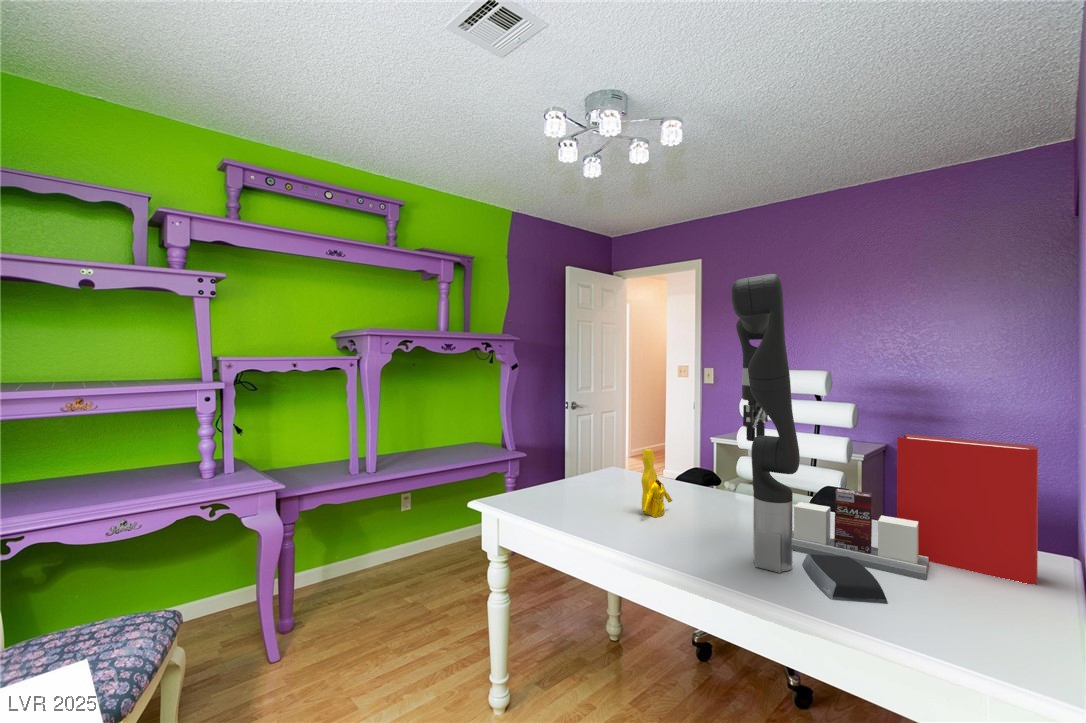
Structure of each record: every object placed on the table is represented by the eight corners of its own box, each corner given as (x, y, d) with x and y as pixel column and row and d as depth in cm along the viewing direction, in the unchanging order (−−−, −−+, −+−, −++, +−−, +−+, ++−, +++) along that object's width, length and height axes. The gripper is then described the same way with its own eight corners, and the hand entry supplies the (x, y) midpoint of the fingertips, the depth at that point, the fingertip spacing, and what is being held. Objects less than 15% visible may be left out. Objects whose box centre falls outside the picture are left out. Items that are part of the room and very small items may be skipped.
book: (896, 554, 139) (897, 437, 138) (903, 546, 144) (904, 434, 144) (1036, 586, 119) (1036, 450, 119) (1037, 576, 124) (1038, 446, 124)
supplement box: (834, 550, 137) (834, 491, 137) (834, 545, 141) (835, 488, 141) (872, 557, 132) (872, 496, 132) (871, 551, 136) (872, 492, 136)
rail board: (925, 580, 122) (925, 532, 122) (783, 548, 143) (783, 507, 143) (928, 564, 131) (928, 520, 131) (794, 536, 152) (794, 498, 152)
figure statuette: (649, 522, 165) (649, 455, 165) (629, 517, 171) (629, 452, 170) (676, 510, 178) (677, 448, 178) (657, 506, 183) (657, 445, 183)
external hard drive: (826, 601, 113) (826, 582, 113) (799, 566, 132) (799, 550, 132) (891, 606, 110) (892, 587, 110) (854, 570, 129) (854, 553, 129)
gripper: (761, 385, 141) (761, 443, 141) (776, 383, 151) (776, 437, 152) (734, 384, 146) (734, 440, 146) (750, 382, 156) (750, 435, 156)
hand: (755, 439), depth 149 cm, fingers open, 8 cm apart
